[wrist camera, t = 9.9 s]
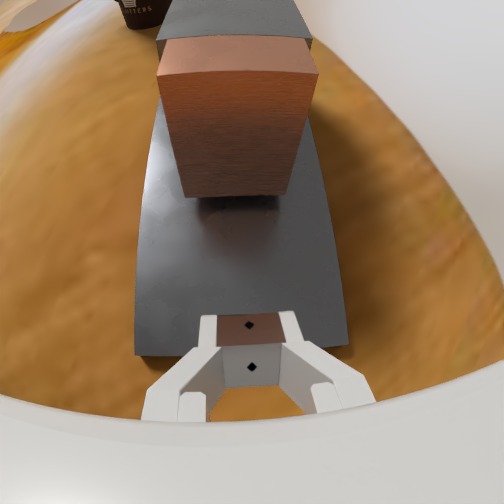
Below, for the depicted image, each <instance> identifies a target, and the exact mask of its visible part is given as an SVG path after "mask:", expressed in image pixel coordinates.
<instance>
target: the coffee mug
mask: <svg viewBox="0 0 504 504" xmlns="http://www.w3.org/2000/svg"><path fill="white" fill-rule="evenodd" d="M115 1H117V2H118V3H119V5H120V8H121V11H122V14H123V16H124V19H125V22H126V24H127V27H128V28H130V29H146V28H151V27H154V26H157V25H160V24H163V21H164V19H165V16H166V14H167V12H168V10H169V7H170V5H171V3H172V1H173V0H115Z"/></svg>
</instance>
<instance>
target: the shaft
mask: <svg viewBox="0 0 504 504" xmlns="http://www.w3.org/2000/svg"><path fill="white" fill-rule="evenodd" d="M318 75H319V73H318V71H317V68H316V66H315V63H314V61H313V58H312V56H311V53H310V51H309V48H308V46H307V44H306V41H305V39H304V38H295V37H282V36H261V35H221V36H200V37H187V38H176V39H167V42H166V45H165V48H164V52H163V55H162V58H161V62H160V65H159V68H158V72H157V75H156V76H157V81H158V86H159V91H160V96H161V100H162V105H163V109H164V114H165V118H166V123H167V127H168V131H169V136H170V140H171V144H172V148H173V153H174V157H175V161H176V165H177V169H178V173H179V177H180V181H181V185H182V188H183V192H184V196H185V198H195V197H218V196H248V195H285V194H286V190H287V187H288V183H289V180H290V176H291V173H292V169H293V166H294V162H295V159H296V155H297V152H298V148H299V145H300V141H301V137H302V134H303V130H304V127H305V123H306V119H307V116H308V112H309V108H310V105H311V101H312V97H313V94H314V90H315V86H316V83H317V79H318Z"/></svg>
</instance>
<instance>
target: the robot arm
mask: <svg viewBox="0 0 504 504" xmlns="http://www.w3.org/2000/svg"><path fill="white" fill-rule="evenodd" d="M270 385H279V387H280V388H281V389H282V390H283V391H284V392H285V393H286V394H287V395H288V396H289V397H290V398H291V399H292V400H293V401H294V402H295V403H296V404H297V405H298V406H299V407H300V408H301V409H302V410H303V411H304V412H305V415H301V416H293V417H285V418H275V419H264V420H250V421H232V422H211V420H210V415H209V413H210V412H211V410H212V409H213V408H214V406H215V405H216V403H217V402H218V400H219V399H220V397H221V396H222V395H223V393H224V392H225V390H226V388H238V387H251V386H270ZM0 504H504V359H503V360H500V361H498V362H496V363H494V364H491V365H489V366H487V367H484V368H482V369H479V370H477V371H474V372H472V373H469V374H467V375H464V376H461V377H459V378H456V379H453V380H450V381H447V382H444V383H441V384H438V385H435V386H432V387H429V388H426V389H423V390H419V391H416V392H413V393H409V394H406V395H402V396H398V397H395V398H391V399H387V400H383V401H378V402H376V400H375V398H374V396H373V394H372V392H371V390H370V388H369V385H368V383H367V381H366V379H365V377H364V375H362V374H361V373H359V372H357V371H356V370H354V369H353V368H351V367H349V366H348V365H346V364H345V363H343V362H341V361H340V360H338V359H337V358H335V357H333V356H332V355H330V354H329V353H327V352H326V351H324V350H322V349H321V348H319V347H318V346H316V345H315V344H313V343H312V342H310V341H304V338H303V335H302V333H301V330H300V327H299V324H298V321H297V318H296V316H295V313H294V311H282V312H275V313H261V314H231V315H202V316H201V319H200V330H199V341H198V347H194V348H192V349H191V350H190V351H189V352H188V353H187V354H186V355H185V356H184V357H183V358H182V359H180V360H179V361H178V362H177V363H176V364H175V365H174V366H173V367H172V368H171V369H170V370H168V371H167V372H166V373H165V374H164V375H163V376H162V377H161V378H160V379H158V380H157V381H156V382H155V383H154V384H153V385H152V386H151V387H150V388H148V389H147V393H146V397H145V402H144V407H143V412H142V417H141V420H135V419H125V418H115V417H107V416H99V415H92V414H86V413H79V412H74V411H68V410H63V409H58V408H53V407H48V406H44V405H39V404H35V403H31V402H27V401H23V400H19V399H16V398H12V397H9V396H5V395H2V394H0Z"/></svg>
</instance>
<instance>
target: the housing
mask: <svg viewBox="0 0 504 504" xmlns="http://www.w3.org/2000/svg"><path fill="white" fill-rule="evenodd" d="M221 35H261V36H282V37H295V38H304V39H305V41H306V44H307V46H308V48H309V51H310V49H311V44H312V40H313V38H312V36H311V34H310V32H309V30H308V28H307V26H306V24H305V22H304V20H303V18H302V16H301V14H300V12H299V10H298V8H297V6H296V4H295V3H294V1H293V0H173V1H172V3H171V5H170V7H169V10H168V12H167V14H166V16H165V19H164V21H163V24H162V26H161V29H160V31H159V33H158V36H157V39H156V44H157V50H158V56H159V61H160V62H161V58H162V55H163V52H164V48H165V45H166V42H167V39H176V38H187V37H200V36H221ZM282 311H294V313H295V316H296V318H297V321H298V324H299V327H300V330H301V333H302V335H303V338H304V341H310V342H312V343H313V344H315V345H316V346H318V347H319V348H329V347H337V346H344V345H349V338H348V329H347V320H346V312H345V304H344V297H343V289H342V282H341V275H340V269H339V262H338V256H337V250H336V244H335V238H334V232H333V227H332V221H331V216H330V211H329V206H328V201H327V196H326V191H325V186H324V181H323V177H322V172H321V168H320V163H319V159H318V154H317V150H316V146H315V142H314V138H313V134H312V130H311V126H310V122H309V118H308V116H307V119H306V123H305V127H304V130H303V134H302V137H301V141H300V145H299V148H298V152H297V155H296V159H295V162H294V166H293V169H292V173H291V176H290V180H289V183H288V187H287V190H286V194H285V195H248V196H218V197H195V198H185V196H184V192H183V188H182V185H181V181H180V177H179V173H178V169H177V165H176V161H175V157H174V153H173V148H172V144H171V140H170V136H169V131H168V127H167V123H166V118H165V114H164V109H163V105H162V100H161V96H160V99H159V104H158V109H157V114H156V118H155V124H154V129H153V134H152V140H151V145H150V151H149V157H148V164H147V170H146V177H145V185H144V192H143V200H142V209H141V218H140V228H139V239H138V252H137V266H136V286H135V322H134V345H135V355H136V356H164V357H184V356H185V355H186V354H187V353H188V352H189V351H190V350H191V349H192V348H194V347H198V341H199V330H200V319H201V316H202V315H231V314H261V313H275V312H282Z"/></svg>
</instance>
